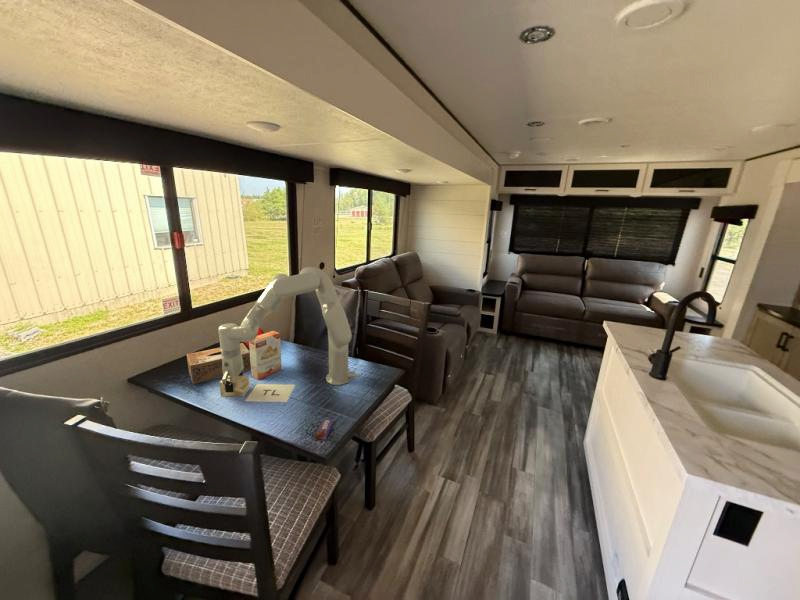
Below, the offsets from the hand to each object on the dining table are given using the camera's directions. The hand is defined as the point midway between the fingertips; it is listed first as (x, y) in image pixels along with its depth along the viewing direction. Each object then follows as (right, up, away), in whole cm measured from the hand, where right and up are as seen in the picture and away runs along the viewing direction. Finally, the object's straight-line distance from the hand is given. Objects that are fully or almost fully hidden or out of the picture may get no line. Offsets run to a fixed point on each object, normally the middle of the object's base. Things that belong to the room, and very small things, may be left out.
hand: (234, 385), depth 138 cm
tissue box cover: (-18, +2, +19) cm, 26 cm away
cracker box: (+7, +1, +19) cm, 20 cm away
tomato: (-12, +10, +46) cm, 49 cm away
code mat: (+16, -4, +2) cm, 16 cm away
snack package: (+46, -12, -19) cm, 51 cm away
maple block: (0, -3, +1) cm, 4 cm away
